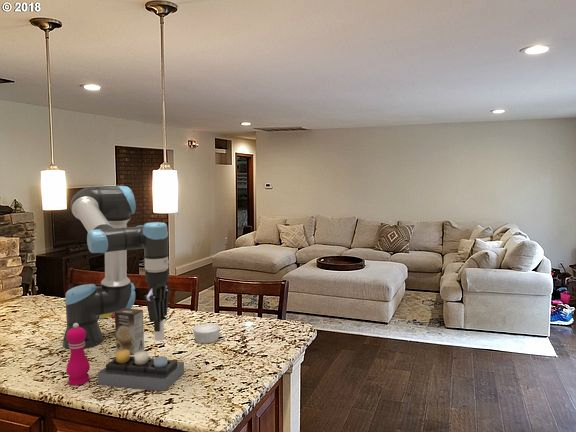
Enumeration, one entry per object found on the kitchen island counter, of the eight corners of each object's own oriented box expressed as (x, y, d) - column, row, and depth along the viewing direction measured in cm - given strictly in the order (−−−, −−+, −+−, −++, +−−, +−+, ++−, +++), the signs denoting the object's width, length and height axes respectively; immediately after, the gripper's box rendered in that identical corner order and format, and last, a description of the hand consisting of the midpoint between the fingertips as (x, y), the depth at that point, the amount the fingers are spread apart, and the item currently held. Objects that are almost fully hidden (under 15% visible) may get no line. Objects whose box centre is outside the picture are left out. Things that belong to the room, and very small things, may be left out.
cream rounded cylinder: (132, 374, 155) (131, 355, 154) (139, 369, 159) (138, 350, 159) (144, 375, 154) (143, 356, 154) (151, 370, 158) (150, 351, 158)
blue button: (151, 380, 154) (151, 361, 153) (158, 374, 158) (157, 355, 157) (164, 381, 153) (163, 362, 152) (170, 375, 157) (169, 356, 156)
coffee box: (115, 352, 181) (113, 311, 179) (126, 346, 187) (124, 307, 185) (135, 354, 178) (133, 314, 176) (145, 348, 184) (143, 309, 182)
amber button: (113, 372, 157) (113, 353, 156) (121, 367, 161) (120, 349, 160) (125, 373, 156) (124, 354, 155) (132, 368, 160) (132, 349, 159)
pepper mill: (71, 377, 159) (68, 320, 157) (93, 376, 159) (90, 319, 158) (63, 386, 152) (59, 327, 150) (86, 385, 152) (83, 326, 150)
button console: (98, 384, 153) (97, 368, 152) (122, 367, 166) (121, 352, 166) (164, 391, 147) (164, 374, 147) (184, 372, 161) (183, 357, 161)
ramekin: (214, 345, 187) (214, 332, 186) (188, 343, 189) (188, 331, 188) (224, 336, 198) (223, 324, 197) (199, 334, 200) (199, 322, 199)
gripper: (157, 274, 145) (160, 347, 147) (176, 266, 157) (178, 333, 160) (135, 273, 146) (138, 346, 149) (156, 265, 159) (158, 332, 161)
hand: (159, 339), depth 154 cm, fingers closed
